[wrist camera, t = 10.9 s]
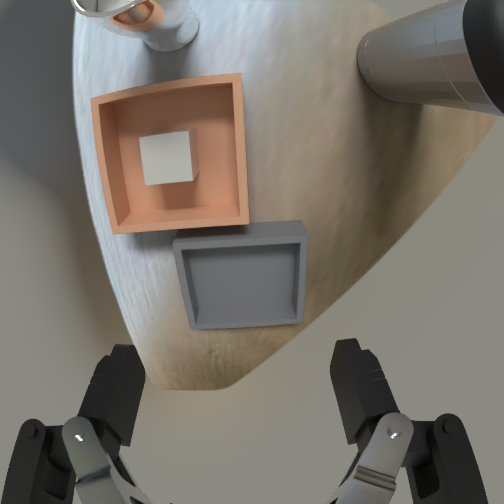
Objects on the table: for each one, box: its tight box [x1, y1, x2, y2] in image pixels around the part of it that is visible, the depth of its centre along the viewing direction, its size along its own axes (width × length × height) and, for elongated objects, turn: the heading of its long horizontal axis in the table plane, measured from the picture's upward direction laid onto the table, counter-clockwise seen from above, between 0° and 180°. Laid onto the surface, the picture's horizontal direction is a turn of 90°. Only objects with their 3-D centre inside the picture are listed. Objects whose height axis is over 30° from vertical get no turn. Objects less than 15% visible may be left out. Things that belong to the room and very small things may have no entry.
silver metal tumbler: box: [71, 0, 199, 52], centre depth 15 cm, size 7×7×15 cm
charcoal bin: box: [172, 221, 308, 329], centre depth 34 cm, size 14×12×4 cm
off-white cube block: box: [139, 128, 199, 186], centre depth 25 cm, size 4×4×4 cm
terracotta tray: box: [91, 73, 249, 234], centre depth 26 cm, size 14×14×5 cm
